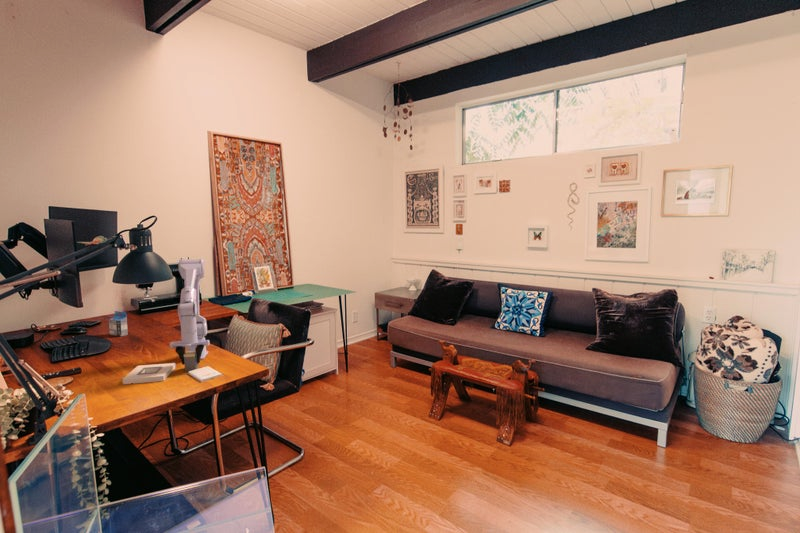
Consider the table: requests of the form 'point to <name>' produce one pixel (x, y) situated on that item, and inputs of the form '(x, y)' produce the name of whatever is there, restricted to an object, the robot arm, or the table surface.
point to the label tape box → (118, 324)
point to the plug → (190, 360)
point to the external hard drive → (204, 374)
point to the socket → (149, 373)
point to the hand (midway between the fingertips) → (191, 363)
